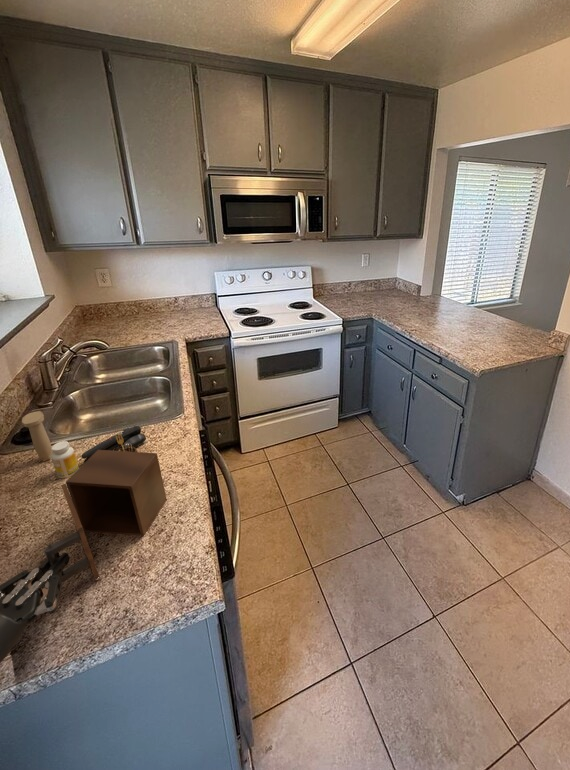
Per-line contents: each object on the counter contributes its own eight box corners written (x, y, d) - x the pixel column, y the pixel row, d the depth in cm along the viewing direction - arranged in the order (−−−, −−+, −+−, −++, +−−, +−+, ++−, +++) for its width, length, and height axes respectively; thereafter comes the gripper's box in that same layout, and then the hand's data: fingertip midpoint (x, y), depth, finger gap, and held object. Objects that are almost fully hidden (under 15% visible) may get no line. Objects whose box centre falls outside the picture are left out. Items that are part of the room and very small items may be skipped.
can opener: (140, 433, 121) (137, 419, 119) (148, 443, 117) (145, 429, 115) (80, 458, 110) (75, 443, 108) (86, 470, 105) (81, 455, 103)
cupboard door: (63, 602, 71) (41, 548, 65) (49, 550, 82) (29, 499, 76) (100, 579, 75) (82, 526, 70) (82, 532, 86) (65, 483, 80)
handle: (36, 467, 106) (20, 425, 101) (38, 455, 111) (23, 414, 106) (56, 461, 109) (41, 420, 103) (57, 449, 114) (43, 409, 108)
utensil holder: (126, 481, 101) (117, 447, 97) (115, 471, 105) (106, 438, 100) (146, 469, 106) (138, 436, 101) (135, 460, 109) (128, 428, 105)
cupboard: (144, 536, 85) (131, 486, 79) (82, 531, 86) (65, 481, 80) (166, 500, 95) (156, 453, 89) (111, 496, 96) (97, 449, 91)
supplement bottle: (55, 481, 101) (46, 454, 98) (59, 468, 106) (50, 442, 102) (78, 475, 103) (69, 448, 100) (80, 463, 108) (72, 437, 104)
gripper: (5, 648, 54) (88, 545, 70) (-73, 636, 56) (26, 537, 72) (21, 676, 57) (97, 571, 73) (-54, 664, 58) (37, 563, 74)
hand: (62, 555), depth 72 cm, fingers closed
